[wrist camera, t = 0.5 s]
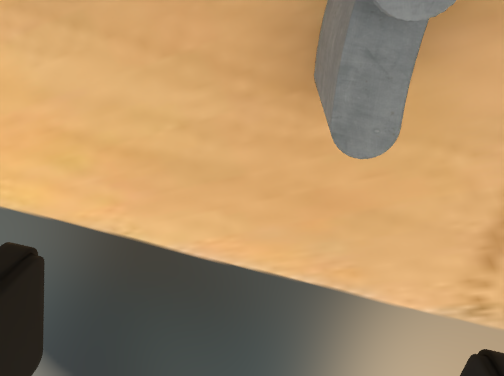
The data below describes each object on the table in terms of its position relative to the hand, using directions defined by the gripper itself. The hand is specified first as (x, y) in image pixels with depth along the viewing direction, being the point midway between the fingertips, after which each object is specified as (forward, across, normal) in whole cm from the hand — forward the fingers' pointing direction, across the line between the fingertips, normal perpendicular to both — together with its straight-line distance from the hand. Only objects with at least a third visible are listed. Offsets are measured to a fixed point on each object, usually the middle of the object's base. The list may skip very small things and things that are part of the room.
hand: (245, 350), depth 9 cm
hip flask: (+30, -4, -9) cm, 32 cm away
